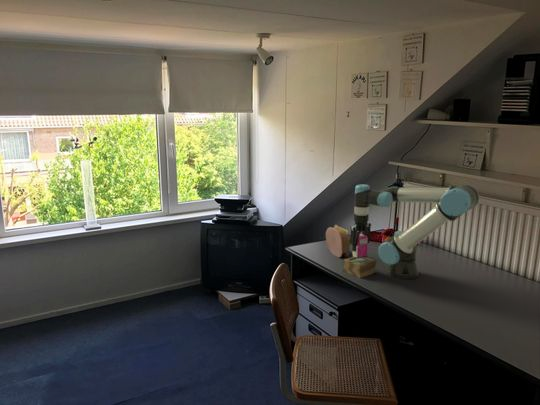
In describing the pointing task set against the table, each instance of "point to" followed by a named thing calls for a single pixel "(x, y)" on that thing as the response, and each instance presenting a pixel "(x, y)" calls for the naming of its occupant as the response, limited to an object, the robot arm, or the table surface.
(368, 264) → the frame
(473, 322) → the table surface
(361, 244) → the supplement box
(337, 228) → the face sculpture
